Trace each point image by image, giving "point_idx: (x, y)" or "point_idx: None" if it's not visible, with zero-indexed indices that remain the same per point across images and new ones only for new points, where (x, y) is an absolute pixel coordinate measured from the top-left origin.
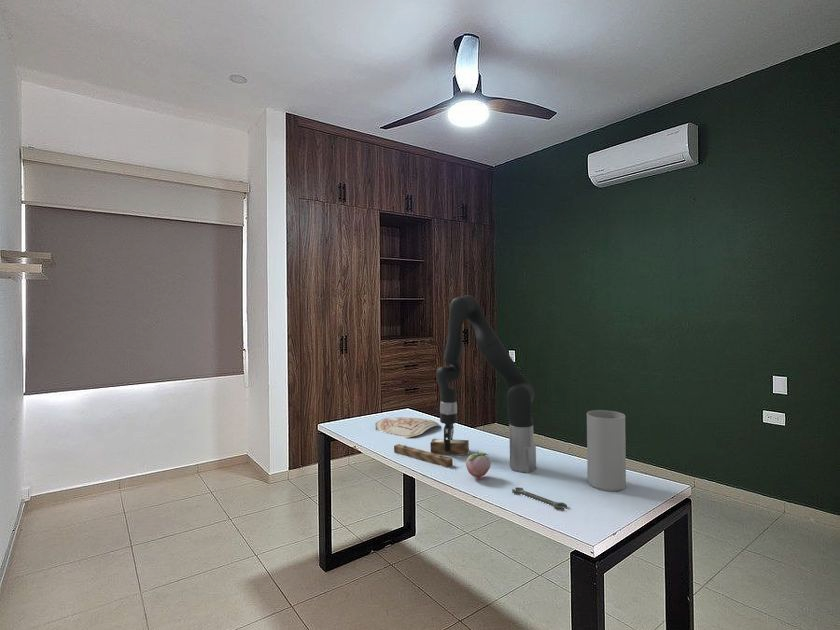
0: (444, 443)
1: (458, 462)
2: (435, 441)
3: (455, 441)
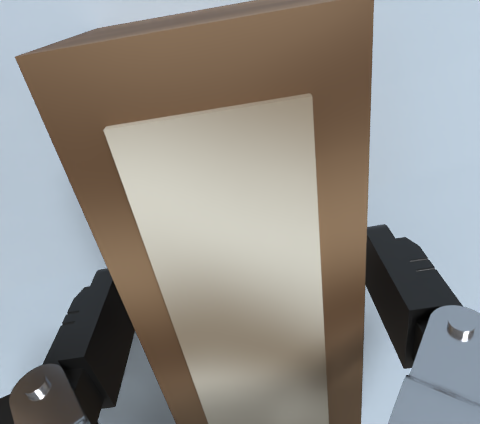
0: (127, 312)
1: (7, 370)
2: (130, 156)
3: (255, 408)
